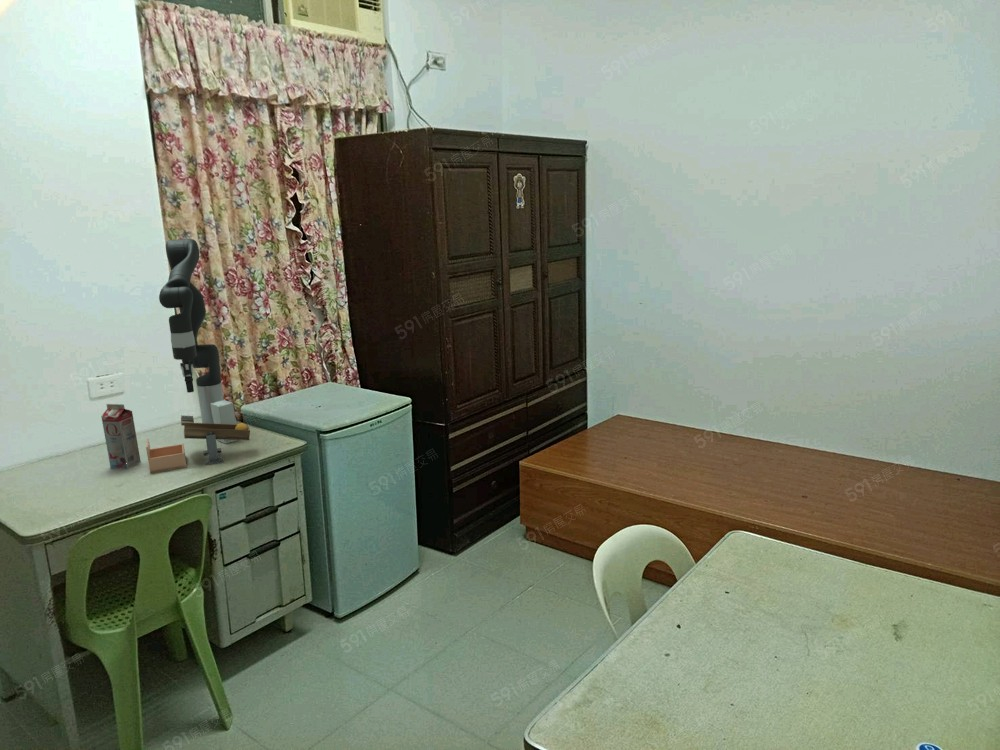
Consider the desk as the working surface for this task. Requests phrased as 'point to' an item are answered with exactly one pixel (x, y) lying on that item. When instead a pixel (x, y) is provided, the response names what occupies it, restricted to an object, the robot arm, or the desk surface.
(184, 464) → the cup
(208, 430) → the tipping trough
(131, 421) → the juice carton
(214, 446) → the lever stand
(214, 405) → the skincare box
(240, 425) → the ball
